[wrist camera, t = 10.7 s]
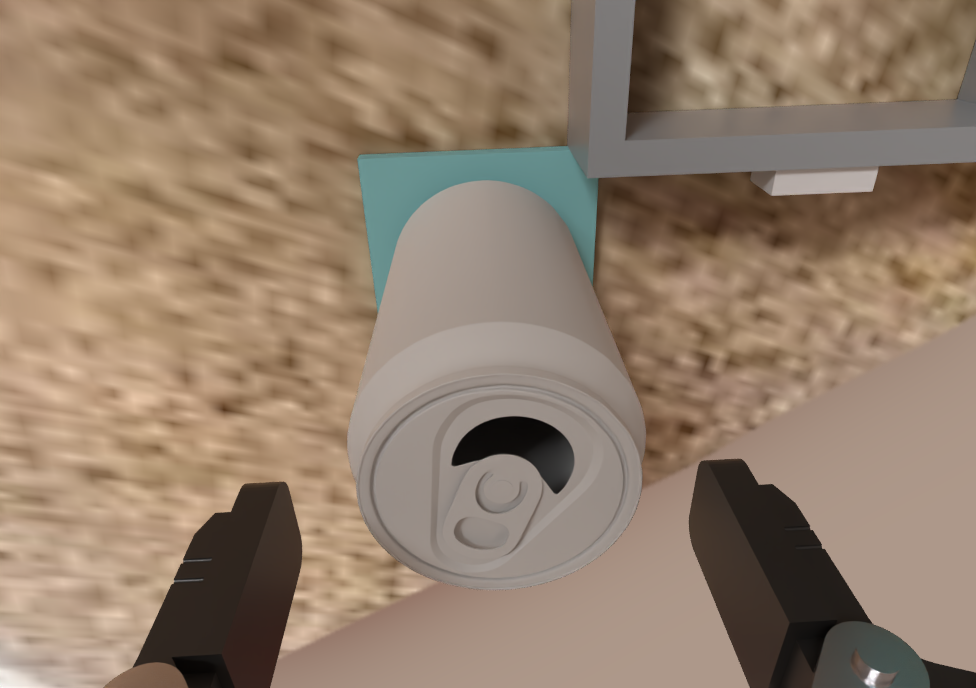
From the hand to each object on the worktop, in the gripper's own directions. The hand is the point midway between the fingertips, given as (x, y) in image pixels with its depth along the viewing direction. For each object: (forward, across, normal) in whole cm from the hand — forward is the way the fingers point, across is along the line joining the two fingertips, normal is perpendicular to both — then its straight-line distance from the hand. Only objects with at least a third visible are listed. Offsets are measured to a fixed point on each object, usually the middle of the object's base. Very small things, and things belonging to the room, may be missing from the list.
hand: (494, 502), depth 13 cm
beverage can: (+12, 0, 0) cm, 12 cm away
